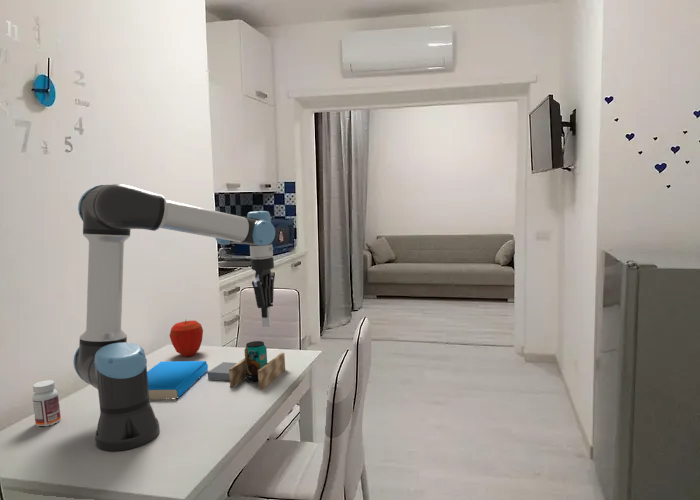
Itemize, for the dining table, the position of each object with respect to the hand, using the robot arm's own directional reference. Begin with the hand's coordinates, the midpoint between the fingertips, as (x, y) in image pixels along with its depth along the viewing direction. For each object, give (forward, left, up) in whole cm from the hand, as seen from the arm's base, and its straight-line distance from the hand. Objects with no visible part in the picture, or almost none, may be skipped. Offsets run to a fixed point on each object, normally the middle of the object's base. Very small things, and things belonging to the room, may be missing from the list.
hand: (266, 326), depth 180 cm
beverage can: (-9, 0, -16) cm, 18 cm away
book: (-18, +27, -16) cm, 36 cm away
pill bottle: (-50, +44, -16) cm, 68 cm away
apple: (+10, +39, -16) cm, 43 cm away
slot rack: (-8, 0, -15) cm, 17 cm away
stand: (-7, +12, -15) cm, 20 cm away
